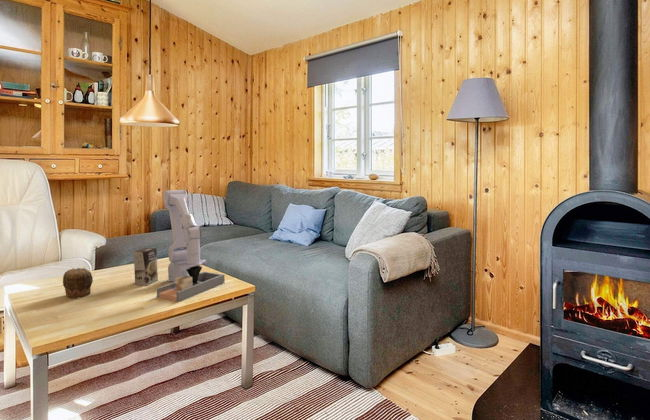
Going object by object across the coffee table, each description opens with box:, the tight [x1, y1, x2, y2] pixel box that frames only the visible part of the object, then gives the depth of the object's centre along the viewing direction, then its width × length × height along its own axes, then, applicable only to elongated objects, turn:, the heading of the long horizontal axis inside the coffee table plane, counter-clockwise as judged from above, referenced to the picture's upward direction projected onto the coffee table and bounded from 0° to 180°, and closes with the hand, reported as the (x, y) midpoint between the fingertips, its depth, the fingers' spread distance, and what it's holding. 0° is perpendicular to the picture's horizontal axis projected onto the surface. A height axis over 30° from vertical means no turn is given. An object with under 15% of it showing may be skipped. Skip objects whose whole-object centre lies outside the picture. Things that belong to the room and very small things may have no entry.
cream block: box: [175, 276, 193, 290], centre depth 178 cm, size 5×5×5 cm
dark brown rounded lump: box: [62, 267, 94, 299], centre depth 174 cm, size 11×11×12 cm
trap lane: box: [156, 271, 226, 303], centre depth 183 cm, size 12×29×4 cm, turn 155°
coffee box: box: [133, 247, 159, 287], centre depth 193 cm, size 9×6×16 cm
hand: (194, 282), depth 184 cm, fingers closed
